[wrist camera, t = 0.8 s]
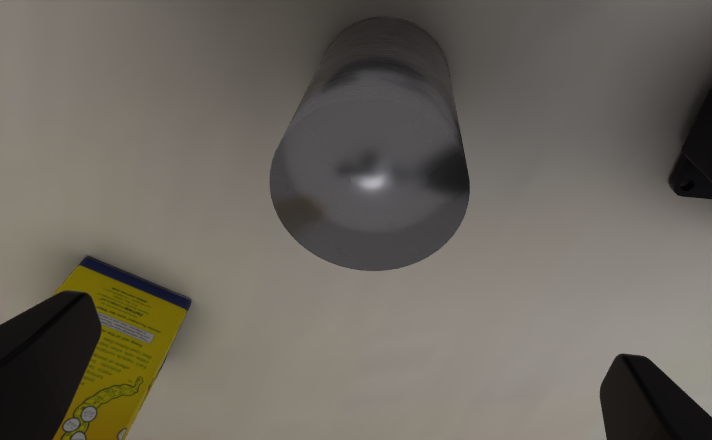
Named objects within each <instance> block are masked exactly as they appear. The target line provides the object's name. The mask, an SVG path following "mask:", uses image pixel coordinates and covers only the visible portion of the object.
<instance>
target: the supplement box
mask: <svg viewBox="0 0 712 440" xmlns="http://www.w3.org/2000/svg"><path fill="white" fill-rule="evenodd" d="M65 290H71V291H80V292H86V293H88V294H89V295H91V297H92V299H93V302H94V304H95V307H96V310H97V313H98V316H99V319H100V322H101V326H102V331H101V336H100V339H99V342H98V344H97V346H96V349H95V351H94V353H93V355H92V358H91V360H90V362H89V364H88V367H87V369H86V371H85V374H84V376H83V378H82V380H81V383H80V385H79V387H78V390H77V392H76V394H75V396H74V399H73V401H72V403H71V405H70V407H69V410H68V412H67V414H66V416H65V418H64V420H63V422H62V424H61V425H60V427H59V429H58V431H57V433H56V435H55V436H54V438H53V440H125V438H126V436H127V434H128V432H129V430H130V428H131V426H132V424H133V422H134V420H135V418H136V416H137V414H138V412H139V410H140V409H141V407H142V405H143V403H144V401H145V399H146V397H147V395H148V393H149V391H150V389H151V387H152V385H153V383H154V382H155V380H156V378H157V376H158V374H159V372H160V370H161V368H162V366H163V364H164V362H165V359H166V356H167V353H168V351H169V349H170V346H171V344H172V342H173V340H174V338H175V336H176V334H177V332H178V330H179V328H180V326H181V324H182V321H183V319H184V317H185V315H186V313H187V311H188V309H189V307H190V305H191V300H190V299H189V298H187V297H185V296H182V295H179V294H177V293H175V292H172V291H169V290H167V289H165V288H162V287H160V286H157V285H155V284H153V283H150V282H148V281H146V280H143V279H141V278H139V277H136V276H134V275H131V274H129V273H126V272H124V271H122V270H119V269H117V268H114V267H112V266H110V265H107V264H104V263H102V262H99V261H96V260H94V259H92V258H90V257H85V258H84V259H83V260H82V261H81V263H80V264H79V265H78V266H77V268H76V269H75V270H74V271H73V272H72V273H71V275H70V276H69V277H68V278H67V279H66V281H65V282H64V283H63V284H62V285H61V286H60V287H59V288H58V290H57V291H56V292H55V293H54V294H53V295H52V296H54V295H56V294H58V293H60V292H62V291H65Z"/></svg>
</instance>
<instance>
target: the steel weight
mask: <svg viewBox="0 0 712 440" xmlns="http://www.w3.org/2000/svg"><path fill="white" fill-rule="evenodd" d="M270 191H271V197H272V201H273V205H274V208H275V210H276V212H277V215H278V217H279V219H280V220H281V222H282V224H283V225H284V227H285V228H286V229H287V231H288V232H289V233H290V234H291V236H292V237H293V238H294V239H295V240H296V241H297V242H298V243H299V244H301V245H302V246H303V247H304V248H306V249H307V250H308V251H310V252H311V253H313V254H315V255H316V256H318V257H320V258H322V259H324V260H326V261H328V262H331V263H333V264H336V265H339V266H343V267H346V268H350V269H357V270H366V271H382V270H391V269H397V268H401V267H405V266H408V265H411V264H414V263H416V262H419V261H421V260H423V259H425V258H427V257H428V256H430V255H431V254H433V253H434V252H436V251H437V250H439V249H440V248H441V247H442V246H443V245H444V244H446V243H447V242H448V240H449V239H450V238H451V237H452V236H453V235H454V233H455V232H456V230H457V229H458V227H459V226H460V224H461V222H462V220H463V218H464V215H465V213H466V209H467V206H468V201H469V194H470V185H469V176H468V170H467V165H466V159H465V154H464V149H463V144H462V138H461V133H460V128H459V122H458V117H457V112H456V107H455V101H454V96H453V91H452V85H451V80H450V75H449V69H448V65H447V62H446V59H445V56H444V54H443V52H442V50H441V48H440V47H439V45H438V44H437V42H436V41H435V40H434V39H433V38H432V37H431V36H430V35H429V34H428V33H427V32H426V31H425V30H423V29H422V28H420V27H419V26H417V25H415V24H413V23H411V22H409V21H406V20H403V19H399V18H393V17H375V18H369V19H366V20H362V21H360V22H358V23H355V24H353V25H352V26H350V27H348V28H347V29H345V30H344V31H343V32H342V33H340V34H339V35H338V36H337V37H336V38H335V39H334V40H333V42H332V43H331V45H330V46H329V47H328V49H327V51H326V53H325V55H324V57H323V59H322V61H321V63H320V65H319V67H318V69H317V71H316V73H315V75H314V77H313V79H312V81H311V83H310V85H309V87H308V89H307V91H306V93H305V95H304V97H303V99H302V100H301V102H300V104H299V106H298V108H297V110H296V112H295V114H294V116H293V118H292V120H291V122H290V124H289V126H288V128H287V130H286V132H285V134H284V136H283V138H282V140H281V142H280V144H279V146H278V148H277V150H276V152H275V155H274V158H273V161H272V165H271V171H270Z"/></svg>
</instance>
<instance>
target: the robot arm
mask: <svg viewBox="0 0 712 440" xmlns="http://www.w3.org/2000/svg"><path fill="white" fill-rule="evenodd" d="M682 151H683V154H682V156H681V158H680V160H679V162H678V164H677V166H676V168H675V170H674V172H673V174H672V177H671V179H670V182H669V185H670V188H671V189H672V190H673V191H674V192H675V193H676V194H677V195H679V196H684V197H695V198H705V199H712V88H711V89H710V91H709V93H708V95H707V97H706V99H705V101H704V103H703V105H702V108H701V110H700V112H699V114H698V116H697V118H696V120H695V122H694V124H693V127H692V129H691V131H690V133H689V135H688V137H687V139H686V141H685V143H684V146H683V148H682ZM686 180H690V181H689V182H688V184H686V185H684V186H681V184H682V183H683V182H684V181H686ZM101 331H102V326H101V322H100V319H99V316H98V313H97V310H96V307H95V304H94V302H93V299H92V297H91V295H89V294H88V293H86V292H80V291H71V290H65V291H62V292H60V293H58V294H56V295H54V296H52V297H50V298H48V299H47V300H45V301H43V302H41V303H39V304H37V305H36V306H34V307H32V308H30V309H28V310H27V311H25V312H23V313H21V314H19V315H17V316H16V317H14V318H12V319H10V320H8V321H6V322H5V323H3V324H1V325H0V440H53V438H54V436H55V435H56V433H57V431H58V429H59V427H60V425H61V424H62V422H63V420H64V418H65V416H66V414H67V412H68V410H69V407H70V405H71V403H72V401H73V399H74V396H75V394H76V392H77V390H78V387H79V385H80V383H81V380H82V378H83V376H84V374H85V371H86V369H87V367H88V364H89V362H90V360H91V358H92V355H93V353H94V351H95V349H96V346H97V344H98V342H99V339H100V336H101ZM600 401H601V407H602V413H603V419H604V426H605V432H606V438H607V440H712V417H711V416H710V415H709V414H708V413H707V412H705V411H704V410H703V409H702V408H701V407H700V406H699V405H698V404H697V403H696V402H695V401H694V400H693V399H692V398H690V397H689V396H688V395H687V394H686V393H685V392H684V391H683V390H682V389H681V388H680V387H679V386H678V385H677V384H675V383H674V382H673V381H672V380H671V379H670V378H669V377H668V376H667V375H666V374H665V373H664V372H663V371H662V370H660V369H659V368H658V367H657V366H656V365H655V364H654V363H653V362H652V361H651V360H649V359H648V358H646V357H644V356H640V355H631V354H619V355H618V356H616V357H615V359H614V361H613V363H612V365H611V366H610V368H609V370H608V372H607V374H606V376H605V378H604V380H603V382H602V384H601V387H600Z"/></svg>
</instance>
